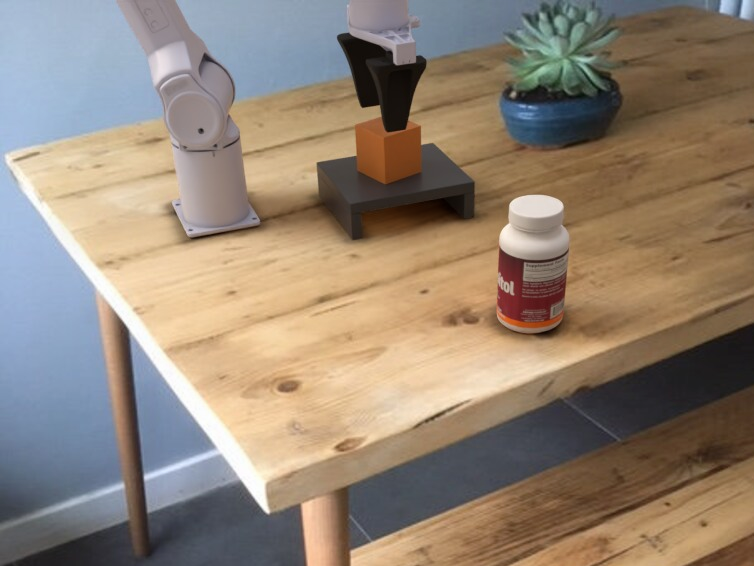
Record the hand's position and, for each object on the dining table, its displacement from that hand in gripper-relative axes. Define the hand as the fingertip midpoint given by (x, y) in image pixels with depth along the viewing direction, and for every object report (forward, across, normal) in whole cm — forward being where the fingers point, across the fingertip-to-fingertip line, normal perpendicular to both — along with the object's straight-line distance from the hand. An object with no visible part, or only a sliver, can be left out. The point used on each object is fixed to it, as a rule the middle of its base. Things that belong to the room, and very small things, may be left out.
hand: (382, 117), depth 108 cm
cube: (+6, +1, -1) cm, 7 cm away
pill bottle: (+10, -27, -4) cm, 29 cm away
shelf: (+10, +1, -2) cm, 11 cm away
